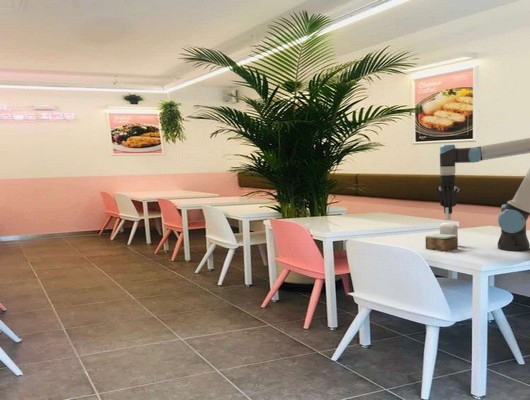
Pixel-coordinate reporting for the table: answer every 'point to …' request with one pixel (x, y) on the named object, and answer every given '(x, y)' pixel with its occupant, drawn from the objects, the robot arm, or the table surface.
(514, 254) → the table surface
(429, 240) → the box carcass
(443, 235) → the lid
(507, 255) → the table surface
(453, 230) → the photo printer
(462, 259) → the table surface
